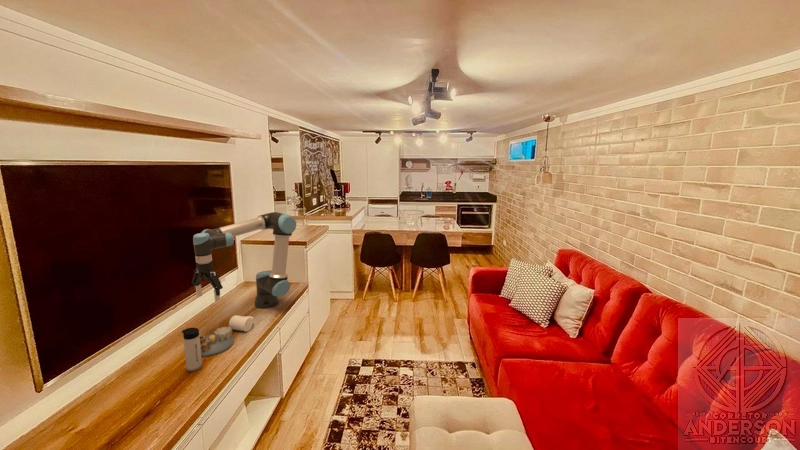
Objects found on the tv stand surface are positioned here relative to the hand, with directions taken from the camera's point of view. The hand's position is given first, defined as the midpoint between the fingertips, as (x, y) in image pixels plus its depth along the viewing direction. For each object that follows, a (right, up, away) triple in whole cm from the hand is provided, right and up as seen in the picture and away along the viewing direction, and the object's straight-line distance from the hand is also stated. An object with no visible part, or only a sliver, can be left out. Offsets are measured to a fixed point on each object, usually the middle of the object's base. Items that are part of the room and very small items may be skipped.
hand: (208, 298), depth 177 cm
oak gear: (+3, -24, -11) cm, 26 cm away
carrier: (+5, -24, -5) cm, 25 cm away
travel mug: (+7, -28, -23) cm, 37 cm away
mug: (+13, -21, +14) cm, 28 cm away
